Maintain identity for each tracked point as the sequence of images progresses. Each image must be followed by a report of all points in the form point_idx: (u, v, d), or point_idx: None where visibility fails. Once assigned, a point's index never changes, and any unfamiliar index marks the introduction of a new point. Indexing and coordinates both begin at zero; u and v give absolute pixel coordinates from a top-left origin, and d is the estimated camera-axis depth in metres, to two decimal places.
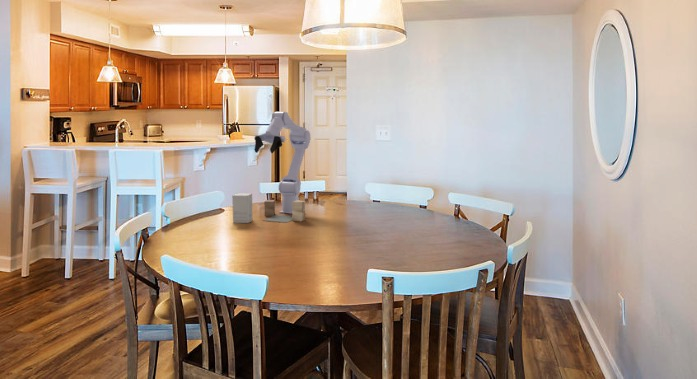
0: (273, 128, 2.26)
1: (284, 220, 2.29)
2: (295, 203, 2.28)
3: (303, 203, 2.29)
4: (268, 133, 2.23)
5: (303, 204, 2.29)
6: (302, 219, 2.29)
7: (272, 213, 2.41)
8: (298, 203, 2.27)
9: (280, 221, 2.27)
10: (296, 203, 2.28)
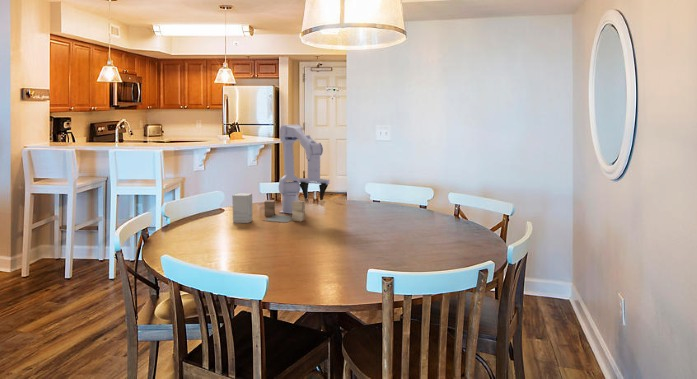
0: (314, 172, 2.23)
1: (284, 220, 2.29)
2: (295, 203, 2.28)
3: (303, 203, 2.29)
4: (311, 181, 2.23)
5: (303, 204, 2.29)
6: (302, 219, 2.29)
7: (272, 213, 2.41)
8: (298, 203, 2.27)
9: (280, 221, 2.27)
10: (296, 203, 2.28)
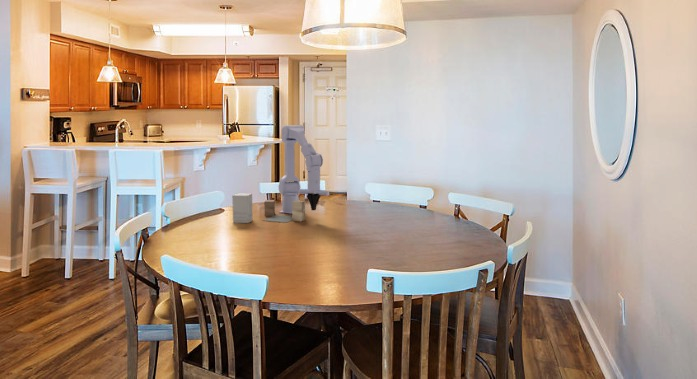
0: (314, 184, 2.23)
1: (284, 220, 2.29)
2: (295, 203, 2.28)
3: (303, 203, 2.29)
4: (311, 192, 2.24)
5: (303, 204, 2.29)
6: (302, 219, 2.29)
7: (272, 213, 2.41)
8: (298, 203, 2.27)
9: (280, 221, 2.27)
10: (296, 203, 2.28)
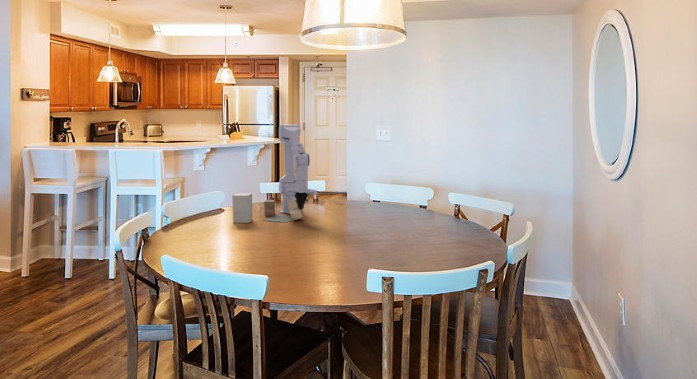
0: (301, 183, 2.25)
1: (284, 220, 2.29)
2: (290, 202, 2.29)
3: None
4: (299, 191, 2.26)
5: None
6: (301, 216, 2.29)
7: (272, 213, 2.41)
8: (292, 201, 2.28)
9: (280, 221, 2.27)
10: (291, 202, 2.29)
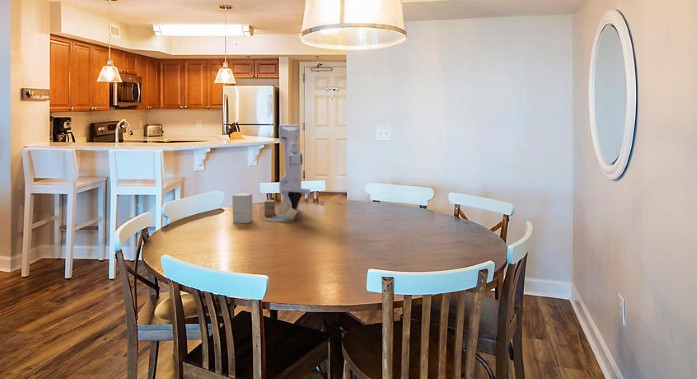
0: (294, 182, 2.26)
1: (284, 220, 2.29)
2: (280, 207, 2.31)
3: (285, 202, 2.32)
4: (292, 191, 2.27)
5: (286, 202, 2.32)
6: (297, 211, 2.30)
7: (272, 213, 2.41)
8: (281, 205, 2.30)
9: (280, 221, 2.27)
10: (280, 206, 2.30)
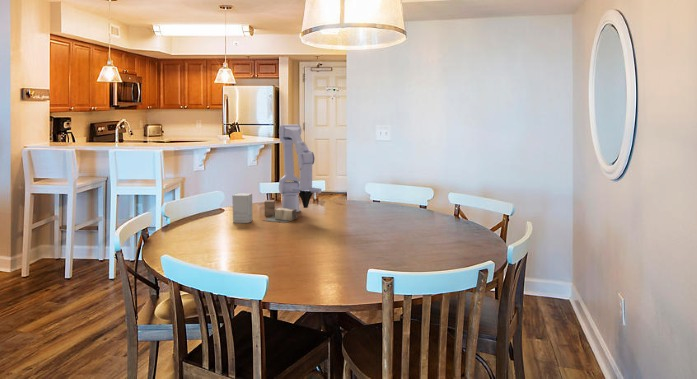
0: (306, 181, 2.25)
1: (284, 220, 2.29)
2: (276, 215, 2.32)
3: (278, 208, 2.34)
4: None
5: (279, 208, 2.34)
6: (292, 210, 2.30)
7: (272, 213, 2.41)
8: (276, 212, 2.32)
9: (280, 221, 2.27)
10: (276, 214, 2.32)
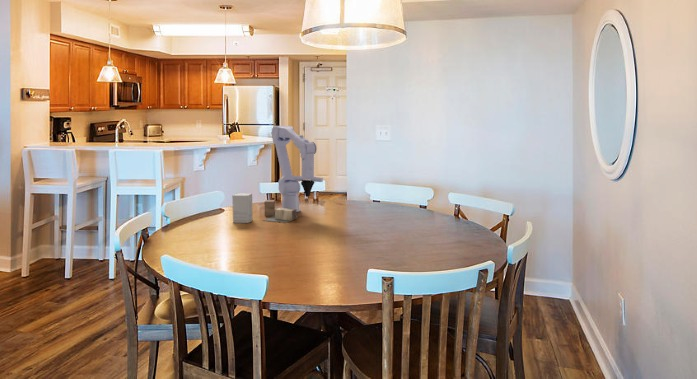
0: (307, 171, 2.31)
1: (284, 220, 2.29)
2: (276, 215, 2.32)
3: (278, 208, 2.34)
4: (305, 179, 2.32)
5: (279, 208, 2.34)
6: (292, 210, 2.30)
7: (272, 213, 2.41)
8: (276, 212, 2.32)
9: (280, 221, 2.27)
10: (276, 214, 2.32)
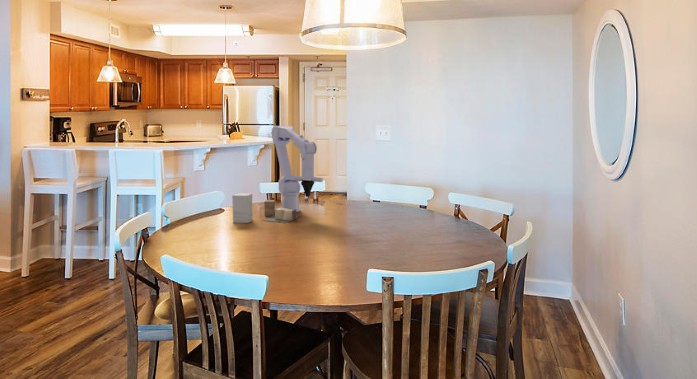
0: (307, 171, 2.31)
1: (284, 220, 2.29)
2: (276, 215, 2.32)
3: (278, 208, 2.34)
4: (305, 179, 2.32)
5: (279, 208, 2.34)
6: (292, 210, 2.30)
7: (272, 213, 2.41)
8: (276, 212, 2.32)
9: (280, 221, 2.27)
10: (276, 214, 2.32)
